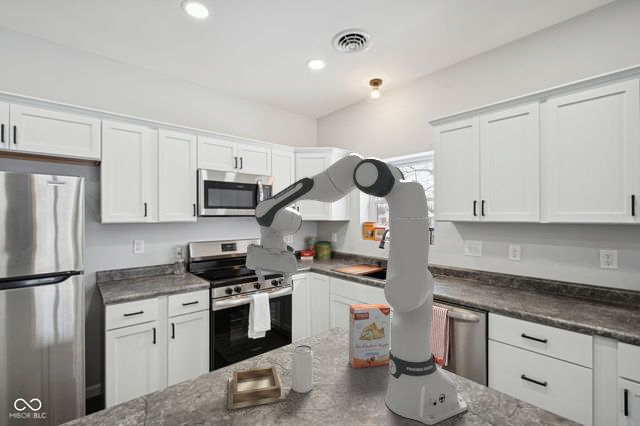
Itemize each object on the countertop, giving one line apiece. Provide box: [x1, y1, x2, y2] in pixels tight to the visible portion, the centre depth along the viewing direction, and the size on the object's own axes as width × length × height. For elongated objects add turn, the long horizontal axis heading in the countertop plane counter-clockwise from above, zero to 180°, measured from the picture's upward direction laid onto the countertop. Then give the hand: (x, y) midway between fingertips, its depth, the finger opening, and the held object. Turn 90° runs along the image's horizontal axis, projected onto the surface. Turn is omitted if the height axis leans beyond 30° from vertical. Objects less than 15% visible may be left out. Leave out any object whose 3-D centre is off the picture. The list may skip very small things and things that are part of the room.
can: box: [291, 344, 314, 394], centre depth 93 cm, size 6×6×12 cm
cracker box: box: [348, 303, 391, 369], centre depth 109 cm, size 14×6×21 cm, turn 104°
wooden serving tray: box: [227, 365, 287, 410], centre depth 92 cm, size 16×16×3 cm
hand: (273, 283), depth 105 cm, fingers open, 8 cm apart
